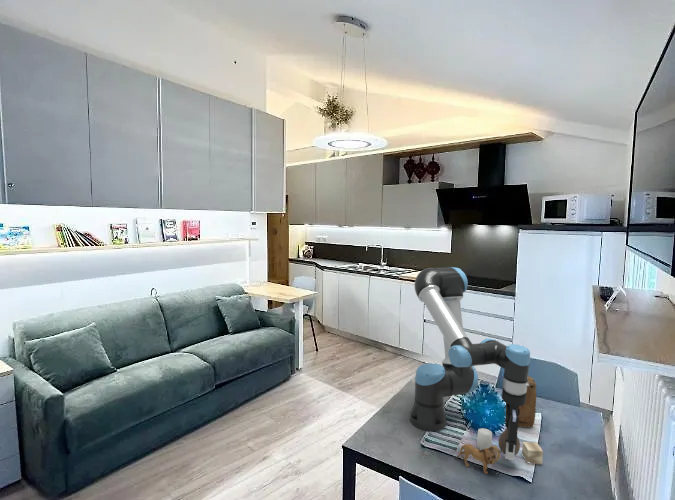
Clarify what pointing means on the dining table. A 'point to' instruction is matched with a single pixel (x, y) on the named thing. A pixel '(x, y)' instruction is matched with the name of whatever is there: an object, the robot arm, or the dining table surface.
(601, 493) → the dining table surface
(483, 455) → the lion figurine
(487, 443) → the white cylinder
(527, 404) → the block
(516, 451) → the vase
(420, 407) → the robot arm
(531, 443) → the birch block
